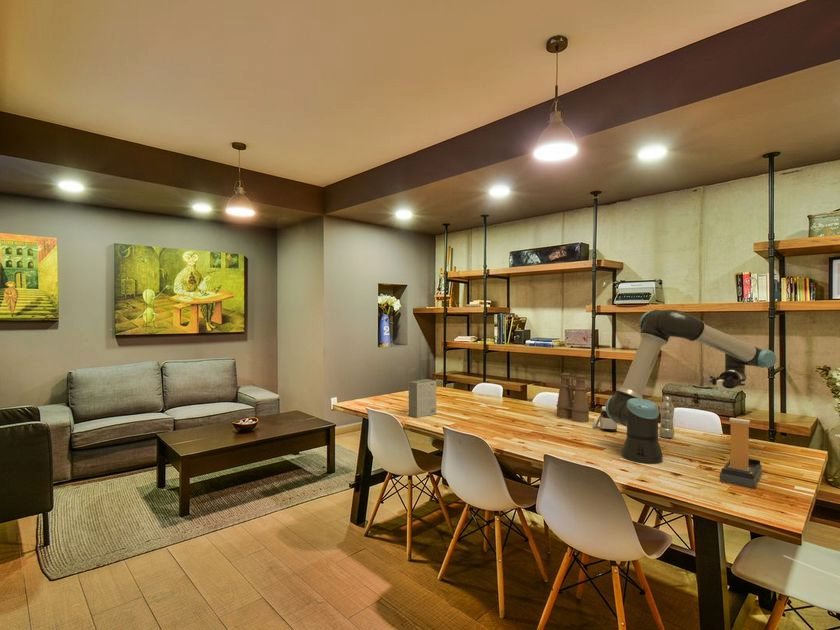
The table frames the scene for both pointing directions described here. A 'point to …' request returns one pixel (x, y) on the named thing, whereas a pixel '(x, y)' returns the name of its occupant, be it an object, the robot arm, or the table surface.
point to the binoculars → (573, 399)
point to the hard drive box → (422, 398)
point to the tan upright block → (739, 445)
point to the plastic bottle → (666, 418)
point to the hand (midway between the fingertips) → (718, 384)
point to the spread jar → (605, 422)
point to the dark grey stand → (742, 474)
